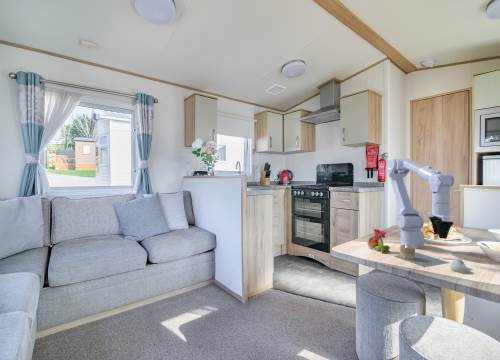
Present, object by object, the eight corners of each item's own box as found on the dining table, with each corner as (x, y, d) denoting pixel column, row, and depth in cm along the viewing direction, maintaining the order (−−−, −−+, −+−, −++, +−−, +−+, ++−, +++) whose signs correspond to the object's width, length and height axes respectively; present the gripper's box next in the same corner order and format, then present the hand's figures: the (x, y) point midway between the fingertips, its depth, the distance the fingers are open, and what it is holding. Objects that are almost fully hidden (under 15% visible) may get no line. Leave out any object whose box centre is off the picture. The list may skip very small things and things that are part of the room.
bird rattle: (368, 257, 108) (388, 254, 102) (359, 232, 112) (377, 228, 105) (375, 254, 112) (394, 251, 105) (366, 231, 116) (384, 226, 109)
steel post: (406, 256, 100) (406, 242, 99) (410, 258, 98) (410, 243, 98) (403, 257, 99) (403, 243, 99) (407, 258, 98) (407, 244, 97)
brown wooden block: (410, 256, 101) (410, 245, 101) (417, 260, 96) (417, 248, 96) (397, 255, 101) (398, 244, 101) (404, 259, 96) (404, 248, 96)
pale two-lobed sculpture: (465, 281, 82) (447, 272, 85) (467, 274, 88) (450, 266, 91) (471, 270, 81) (452, 262, 84) (472, 263, 87) (455, 256, 90)
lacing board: (416, 254, 105) (416, 252, 105) (449, 265, 93) (450, 262, 93) (392, 258, 101) (392, 255, 101) (424, 269, 88) (424, 267, 88)
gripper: (424, 200, 106) (424, 231, 106) (433, 204, 93) (432, 239, 93) (444, 201, 103) (443, 233, 103) (456, 205, 90) (455, 241, 90)
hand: (440, 236), depth 98 cm, fingers open, 7 cm apart
